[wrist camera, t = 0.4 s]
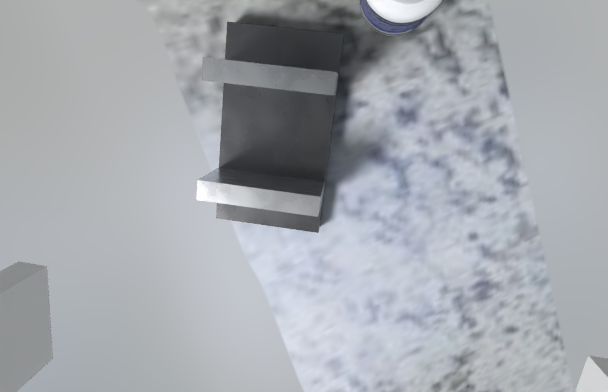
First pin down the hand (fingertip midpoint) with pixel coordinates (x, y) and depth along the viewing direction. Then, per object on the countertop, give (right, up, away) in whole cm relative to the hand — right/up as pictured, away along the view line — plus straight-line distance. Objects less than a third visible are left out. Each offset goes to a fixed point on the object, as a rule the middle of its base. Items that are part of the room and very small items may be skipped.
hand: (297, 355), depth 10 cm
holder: (-2, +9, +24) cm, 26 cm away
